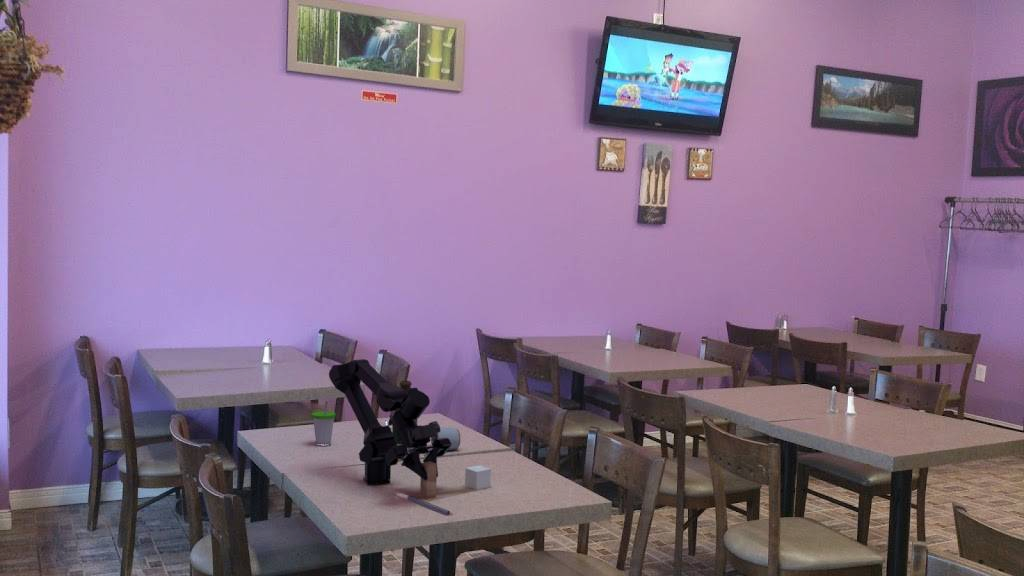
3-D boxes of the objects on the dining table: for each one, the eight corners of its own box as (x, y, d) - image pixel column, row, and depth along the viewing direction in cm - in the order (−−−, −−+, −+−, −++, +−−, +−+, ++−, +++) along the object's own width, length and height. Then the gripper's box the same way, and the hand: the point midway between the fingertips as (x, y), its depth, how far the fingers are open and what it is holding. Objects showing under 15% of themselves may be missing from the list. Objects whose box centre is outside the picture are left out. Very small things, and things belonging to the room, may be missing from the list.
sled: (415, 499, 254) (415, 462, 254) (478, 485, 269) (479, 450, 268) (428, 504, 250) (429, 467, 249) (492, 490, 264) (493, 454, 264)
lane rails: (407, 499, 254) (407, 496, 254) (479, 484, 271) (479, 480, 271) (446, 515, 242) (446, 511, 242) (520, 498, 258) (520, 494, 258)
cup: (316, 441, 318) (316, 396, 317) (338, 442, 317) (339, 397, 316) (307, 446, 310) (308, 401, 309) (331, 448, 309) (331, 402, 308)
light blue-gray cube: (465, 485, 265) (465, 468, 264) (478, 482, 268) (479, 465, 268) (476, 489, 261) (476, 471, 261) (490, 486, 264) (490, 469, 264)
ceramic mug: (461, 451, 309) (462, 428, 308) (437, 453, 305) (437, 429, 305) (450, 444, 318) (450, 422, 318) (426, 446, 315) (427, 423, 315)
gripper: (391, 416, 248) (416, 466, 241) (448, 408, 261) (473, 456, 253) (374, 440, 255) (397, 490, 247) (430, 431, 267) (454, 478, 260)
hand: (431, 478), depth 252 cm, fingers closed on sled, 3 cm apart
